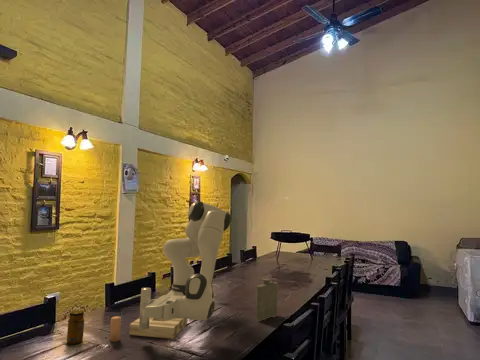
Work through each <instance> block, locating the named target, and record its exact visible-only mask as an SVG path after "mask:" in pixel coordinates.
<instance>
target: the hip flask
mask: <svg viewBox="0 0 480 360" xmlns="http://www.w3.org/2000/svg"><path fill="white" fill-rule="evenodd" d="M262 281H263V283H260V284H258V285H256V294H255V297H256V298H255V301H256V302H255V303H256V305H255V321H256V320H258V321H261V320H263V319H265V318H268V317H271V316H275V315H277V316H278V289H279V288H278V286H279V284H278V282H277V281H271V280H270V279H269V278H262Z"/></svg>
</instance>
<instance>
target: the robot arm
mask: <svg viewBox="0 0 480 360" xmlns="http://www.w3.org/2000/svg"><path fill="white" fill-rule="evenodd" d="M187 216H188V219H189V221H188V223H187V225H186V227H185V229H184V231H185V235H186V237H185V238H173V239H169V240H166V242H165V243H164V244H163V254H164V256H165V257H166V258H167V259H168V260H169V261H170V263H171V265H172V269H173V283H171V290H170V291H169V292H168V293H167V294H164V295H161V296H160V297H158V298H154V299H151V301H150V304H145V303H142V304H140V303H139V309H140V308H141V309H145V310H144V315H145V316H146V317H150V318H157V319H162V318H163V320H165V321H168V320H171V319H176V318H178V319H183V318H187V320H191V321H206V320H209V319H210V318H211V317H212V316H213V314H214V311H215V301H214V296H215V293H214V288H213V281H214V280H213V279H214V275H215V270H216V263H217V258H218V254H219V250H220V246H221V243H222V239H223V234H224V232H225V231H227V230H228V228H229V227H230V226H231V223H232V215H231V213H229V212H227V210H224V209H221V208H220V207H218V206H216V205H212V204H209V203H205V202H203V201H200V200H196V201H194V202H192V204H191V205H190V206H189V209H188V214H187ZM197 257H198V258H199V257H201V267H200V271H199V273H197V274H196V273H195V269H194V268H193V266H192V265H190V264H189V263H188V262H187V259H191V258H197Z"/></svg>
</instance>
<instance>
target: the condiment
mask: <svg viewBox="0 0 480 360" xmlns="http://www.w3.org/2000/svg"><path fill="white" fill-rule="evenodd" d="M84 314H85V313H84V311H83V310H73V311H71V312H69V319H68V320H67V335H66V340H63V341H62V342H61V343H63V344H64V345H66V346H68V347H69V348H74V347H79V346H83V345H86V344H89V342H88V341H86V340H85V339H84V333H85V332H84V330H85V318H84V316H85V315H84Z"/></svg>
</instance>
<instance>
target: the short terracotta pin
mask: <svg viewBox="0 0 480 360" xmlns="http://www.w3.org/2000/svg"><path fill="white" fill-rule="evenodd" d="M121 325H122V316H112V317H111V318H110V332H109V333H110V334H109V341H110V342H113V343H114V342H115V343H116V342H118V341H120V340H121V328H122V326H121Z"/></svg>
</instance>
